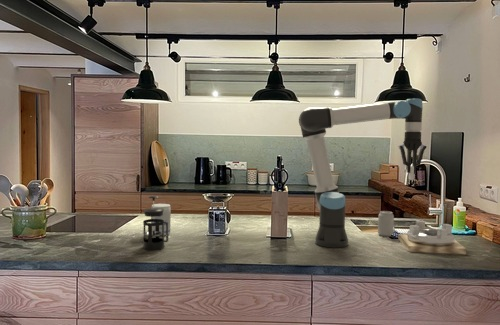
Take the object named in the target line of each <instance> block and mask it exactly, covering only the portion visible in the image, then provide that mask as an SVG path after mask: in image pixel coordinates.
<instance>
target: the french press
mask: <svg viewBox="0 0 500 325" xmlns="http://www.w3.org/2000/svg"><path fill="white" fill-rule="evenodd" d="M148 198H149V199H152V203H153V204H152V205H153V208H152V207H151V208H146V209H143V210H142V211H143V213H144V217H148V218H149V217H150V218H149V219H144V220H143V223H142V225H143V242H142V243H143V245H142V246H143V247H142V249H143V250H144V251H161V250H163V249H165V248H166V247H165V243H168V242H169V234H168V222H164V220H162V219H154V217H156V216H162V215H163V211H164V209H160V208H154V204H155V199H157V198H159V196H157V195H151V196H148ZM151 217H153V219H151ZM151 222H153V223H151ZM154 222H155V223H154ZM164 223H166V235H164ZM160 225H162V232H160V231H159V226H160ZM152 226H153V231H152ZM154 226H155V231H154ZM146 227H147V231H146ZM165 236H166V237H165ZM146 237H147V238H146ZM161 237H162V238H161ZM165 238H166V240H165Z"/></svg>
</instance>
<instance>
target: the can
mask: <svg viewBox="0 0 500 325" xmlns="http://www.w3.org/2000/svg"><path fill="white" fill-rule="evenodd" d="M377 216H378V219H377V220H378V222H377V234H379V236H381V237H392V236H393V235H394V226H395V225H394V220H395V215H394V214H393V212H392V211H389V210H380V211H379V213H378V215H377ZM392 234H393V235H392ZM391 235H392V236H391Z"/></svg>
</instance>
